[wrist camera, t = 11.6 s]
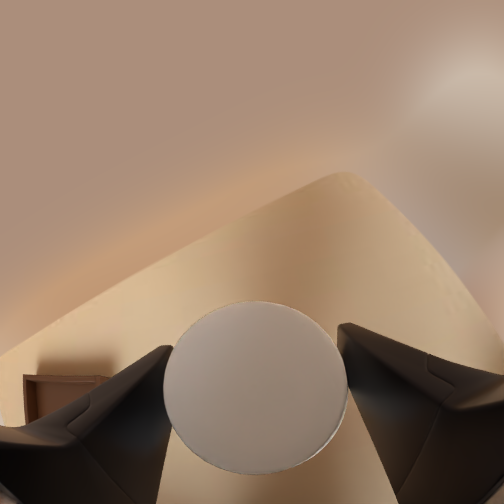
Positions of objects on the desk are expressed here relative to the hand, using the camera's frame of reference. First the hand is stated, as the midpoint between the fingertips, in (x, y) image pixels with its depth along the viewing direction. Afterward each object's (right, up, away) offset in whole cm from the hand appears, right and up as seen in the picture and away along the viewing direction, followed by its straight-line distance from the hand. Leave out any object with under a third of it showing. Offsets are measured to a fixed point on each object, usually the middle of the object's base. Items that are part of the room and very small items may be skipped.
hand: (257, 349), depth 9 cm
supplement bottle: (+1, -5, +5) cm, 7 cm away
